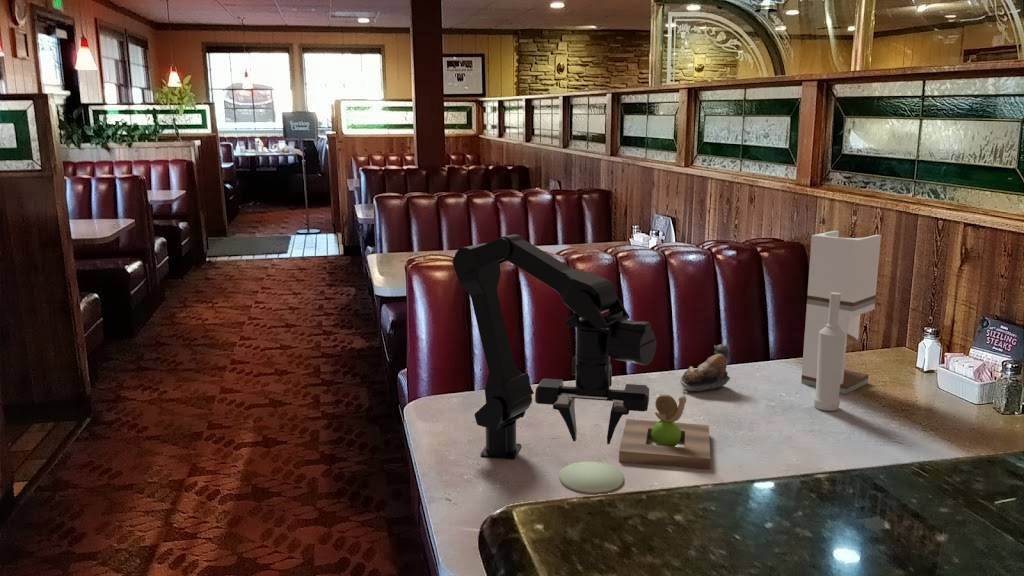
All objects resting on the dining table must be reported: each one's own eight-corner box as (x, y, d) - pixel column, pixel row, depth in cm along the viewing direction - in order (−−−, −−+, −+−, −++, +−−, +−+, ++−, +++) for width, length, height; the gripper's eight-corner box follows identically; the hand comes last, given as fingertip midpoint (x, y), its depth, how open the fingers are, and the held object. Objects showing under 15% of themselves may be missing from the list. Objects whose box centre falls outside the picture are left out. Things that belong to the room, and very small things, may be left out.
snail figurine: (676, 457, 143) (679, 395, 141) (645, 448, 147) (648, 387, 145) (690, 448, 147) (693, 387, 145) (659, 439, 151) (662, 380, 149)
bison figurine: (691, 397, 175) (692, 353, 173) (673, 387, 181) (674, 345, 179) (735, 390, 179) (737, 347, 177) (716, 381, 185) (718, 340, 183)
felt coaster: (620, 495, 128) (620, 492, 128) (554, 489, 131) (554, 486, 131) (626, 467, 139) (626, 464, 139) (564, 462, 141) (564, 459, 141)
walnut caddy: (709, 469, 138) (710, 458, 138) (618, 461, 142) (619, 450, 141) (708, 434, 153) (708, 425, 153) (626, 428, 157) (626, 418, 156)
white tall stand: (845, 394, 176) (858, 240, 168) (801, 383, 183) (811, 235, 176) (867, 382, 183) (881, 234, 176) (824, 372, 191) (835, 230, 184)
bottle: (835, 403, 170) (844, 290, 165) (842, 411, 165) (852, 296, 160) (810, 402, 171) (819, 290, 166) (817, 410, 166) (826, 295, 160)
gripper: (652, 344, 136) (649, 428, 139) (546, 338, 140) (546, 420, 143) (648, 363, 125) (645, 454, 129) (534, 356, 129) (534, 444, 133)
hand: (591, 441), depth 134 cm, fingers open, 5 cm apart
